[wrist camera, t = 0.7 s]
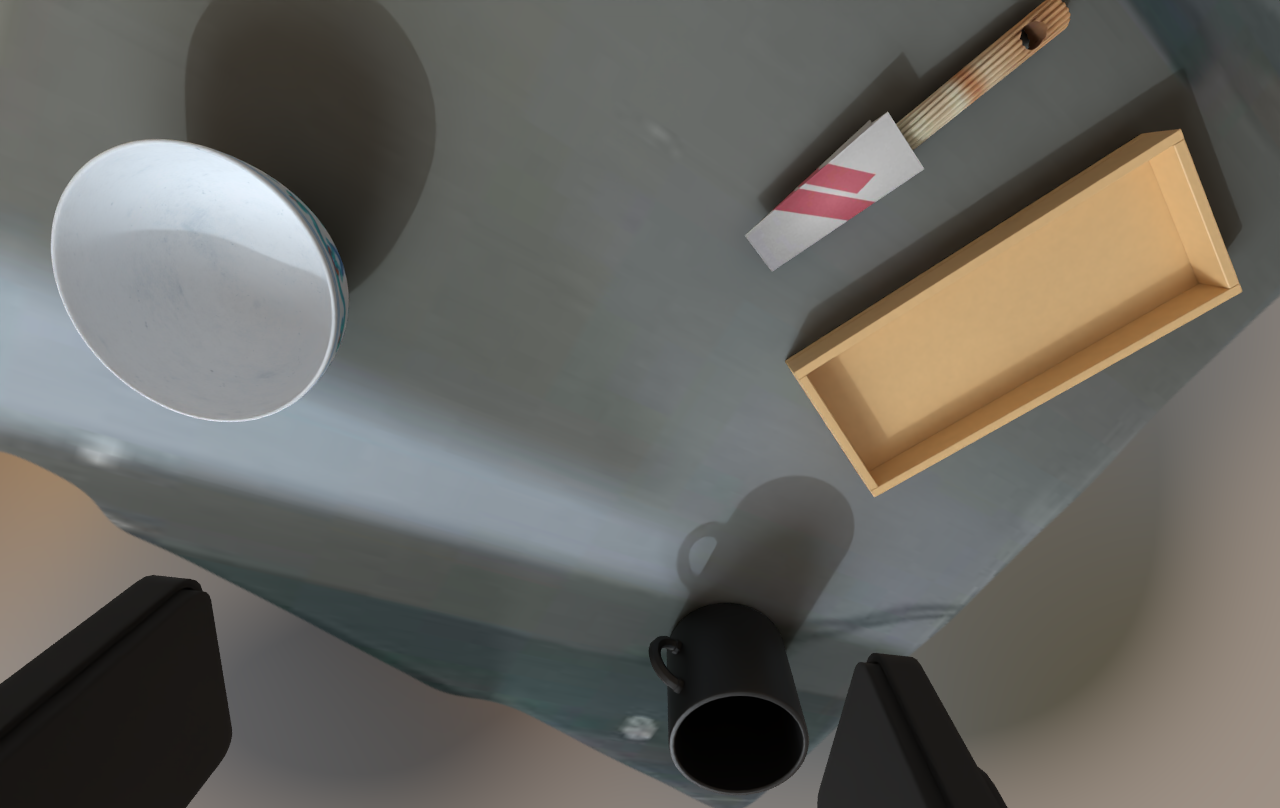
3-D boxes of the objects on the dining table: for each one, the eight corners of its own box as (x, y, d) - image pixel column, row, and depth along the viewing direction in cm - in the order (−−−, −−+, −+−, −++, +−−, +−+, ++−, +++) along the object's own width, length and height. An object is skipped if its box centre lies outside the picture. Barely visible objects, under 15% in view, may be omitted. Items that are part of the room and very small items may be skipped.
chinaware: (288, 98, 36) (193, 74, 28) (440, 313, 40) (391, 341, 32) (115, 231, 38) (-11, 241, 31) (273, 418, 43) (195, 465, 35)
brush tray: (784, 360, 40) (793, 372, 38) (1141, 132, 35) (1181, 128, 32) (861, 478, 43) (874, 497, 40) (1202, 284, 38) (1243, 291, 35)
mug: (684, 564, 46) (691, 650, 37) (806, 637, 48) (838, 733, 39) (618, 645, 49) (609, 741, 40) (736, 710, 51) (752, 815, 42)
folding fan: (743, 228, 34) (1059, -28, 31) (735, 227, 37) (1025, -9, 33) (781, 281, 35) (1092, 39, 31) (771, 276, 38) (1057, 52, 34)
